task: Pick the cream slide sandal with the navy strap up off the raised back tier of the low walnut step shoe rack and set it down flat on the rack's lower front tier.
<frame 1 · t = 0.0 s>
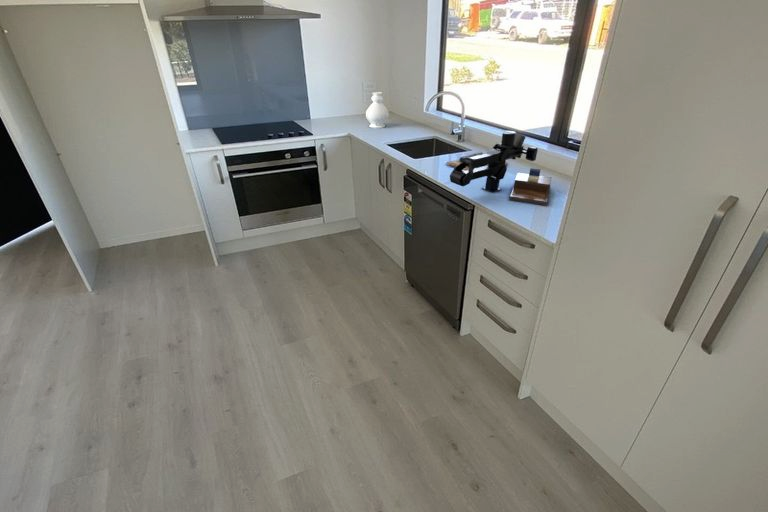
hand: (529, 148, 199), 17 cm above the worktop, tool horizontal, fingers open, 9 cm apart
decorative vase: (377, 126, 315), on the worktop
door handle: (477, 162, 234), on the worktop
shoe rack: (529, 194, 189), on the worktop
sandal: (533, 178, 191), point 6 cm above the worktop, touching shoe rack
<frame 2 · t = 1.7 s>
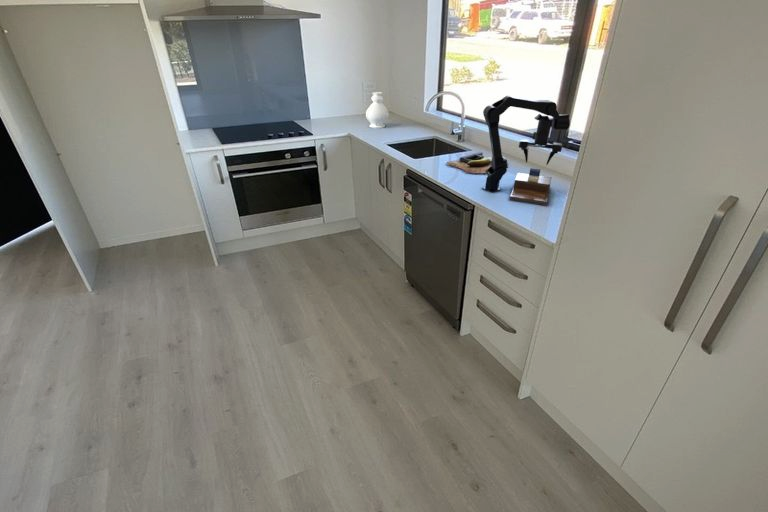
hand: (536, 163, 188), 13 cm above the worktop, tool pointing down, fingers open, 9 cm apart
nothing on the worktop moved.
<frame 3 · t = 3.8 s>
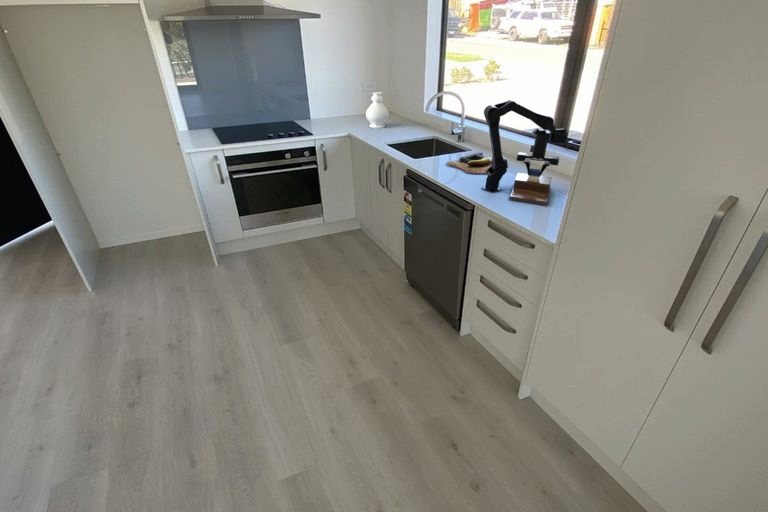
hand: (534, 176, 191), 7 cm above the worktop, tool pointing down, fingers closed on sandal, 4 cm apart
sandal: (533, 178, 191), point 6 cm above the worktop, touching gripper, shoe rack
everything else where it was.
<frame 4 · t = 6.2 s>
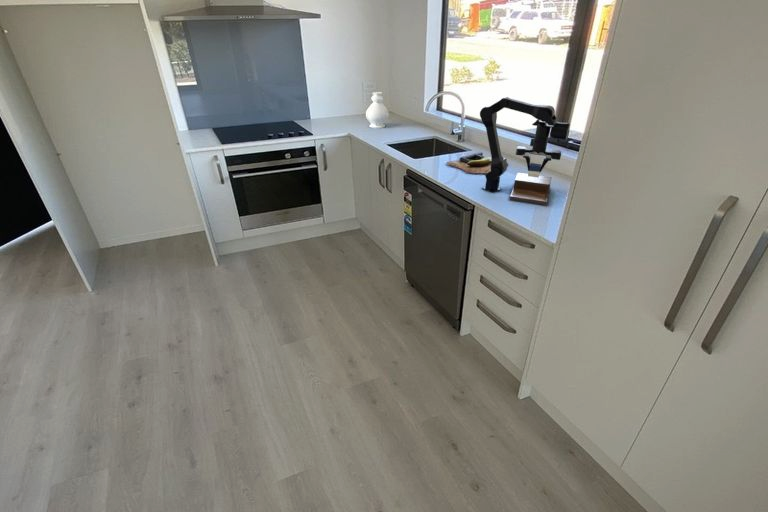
hand: (534, 171, 180), 12 cm above the worktop, tool pointing down, fingers closed on sandal, 4 cm apart
sandal: (533, 173, 179), point 12 cm above the worktop, touching gripper
everything else where it was.
when the fingers open (3 cm above the worktop, at t = 8.5 s): sandal stays where it is, resting on shoe rack.
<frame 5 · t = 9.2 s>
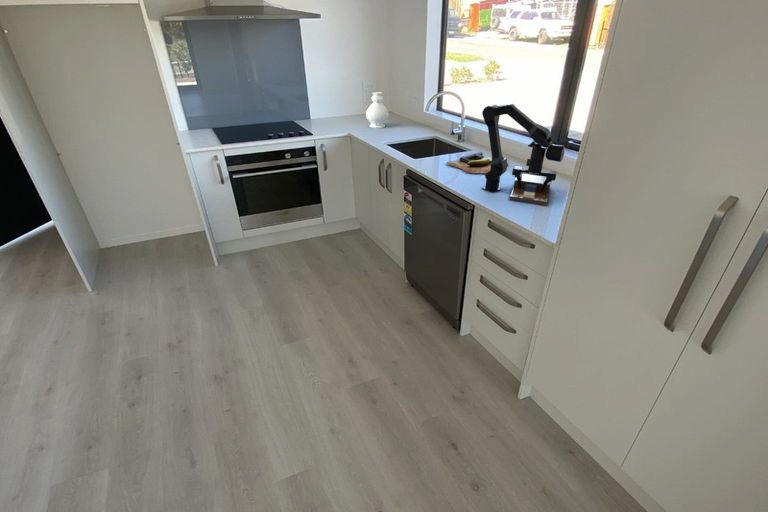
hand: (530, 191, 183), 3 cm above the worktop, tool pointing down, fingers open, 9 cm apart
sandal: (529, 194, 183), point 2 cm above the worktop, touching shoe rack
everything else where it was.
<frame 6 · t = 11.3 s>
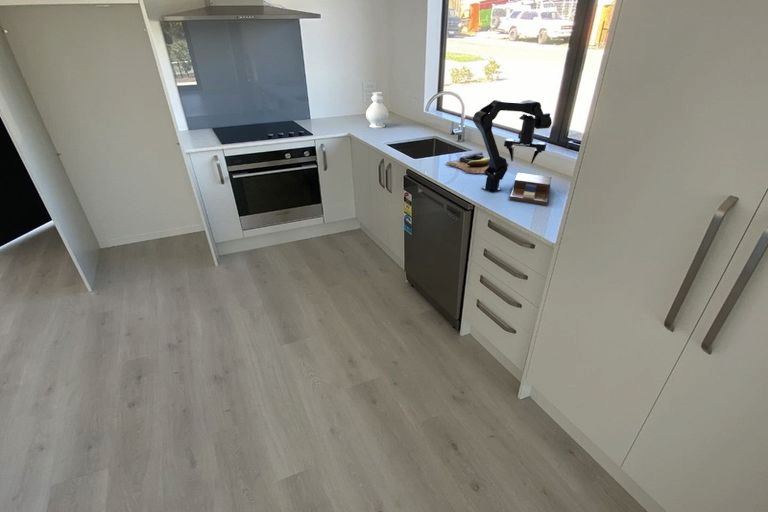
hand: (521, 162, 192), 12 cm above the worktop, tool pointing down, fingers open, 9 cm apart
nothing on the worktop moved.
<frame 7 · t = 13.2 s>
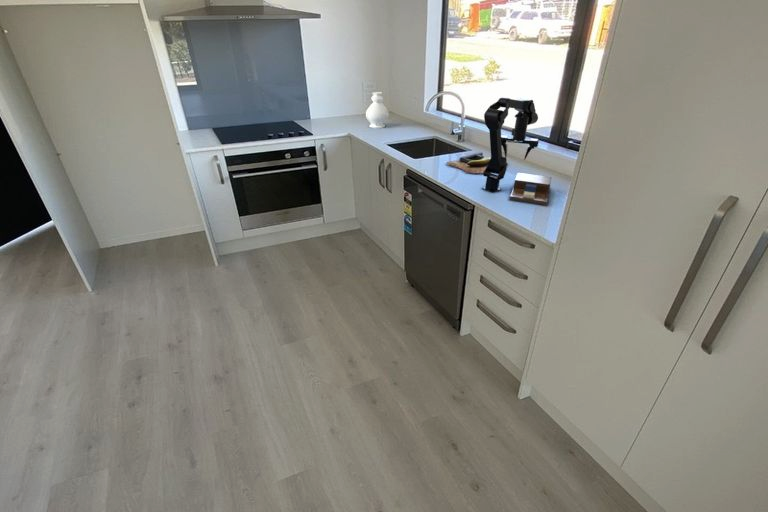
hand: (515, 158, 199), 12 cm above the worktop, tool pointing down, fingers open, 9 cm apart
nothing on the worktop moved.
at the end: sandal inside the target area on the shoe rack (0.1 cm from its centre), point 2.0 cm above the shoe rack's base; sandal tilted 0°; the gripper is holding nothing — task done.
